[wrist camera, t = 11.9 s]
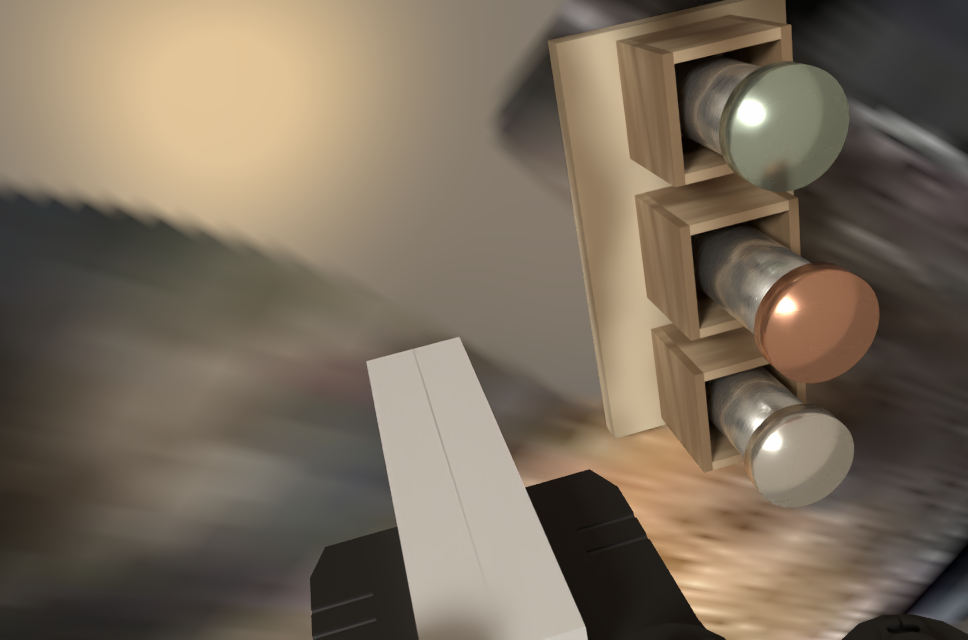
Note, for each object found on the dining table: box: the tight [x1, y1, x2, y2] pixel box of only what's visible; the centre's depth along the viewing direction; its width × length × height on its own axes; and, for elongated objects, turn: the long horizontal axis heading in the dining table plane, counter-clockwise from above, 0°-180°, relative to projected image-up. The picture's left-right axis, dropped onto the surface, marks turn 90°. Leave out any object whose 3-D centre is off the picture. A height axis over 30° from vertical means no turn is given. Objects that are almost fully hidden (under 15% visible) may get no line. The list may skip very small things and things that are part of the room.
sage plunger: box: [674, 54, 849, 192], centre depth 40 cm, size 5×5×10 cm
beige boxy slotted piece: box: [548, 0, 807, 473], centre depth 47 cm, size 12×23×8 cm, turn 11°
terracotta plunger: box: [691, 222, 879, 383], centre depth 41 cm, size 5×5×10 cm
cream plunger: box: [705, 366, 854, 508], centre depth 46 cm, size 5×5×10 cm
